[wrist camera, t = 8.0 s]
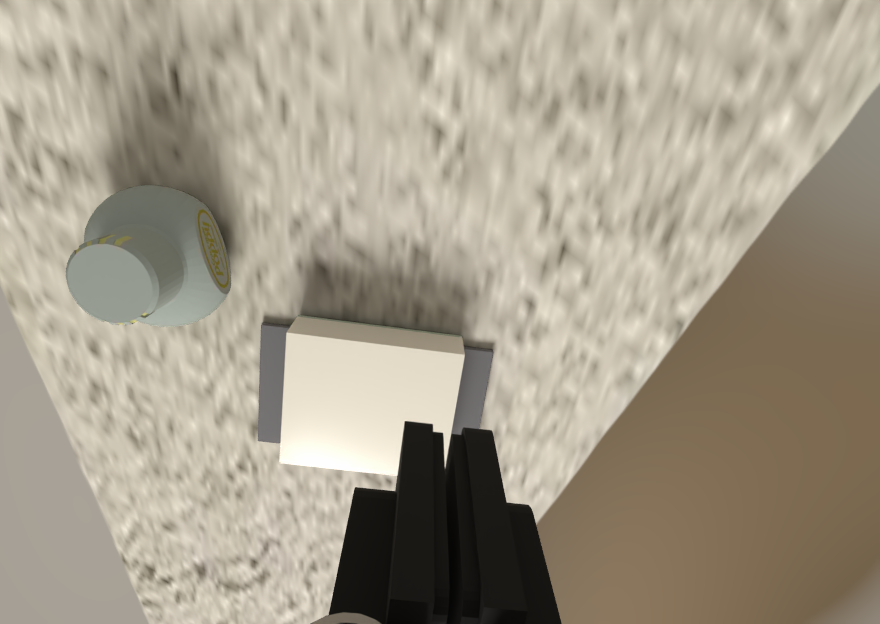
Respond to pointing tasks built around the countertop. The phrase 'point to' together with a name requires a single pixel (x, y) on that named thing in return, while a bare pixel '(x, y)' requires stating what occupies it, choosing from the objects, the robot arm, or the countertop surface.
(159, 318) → the air freshener
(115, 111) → the countertop surface
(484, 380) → the mat
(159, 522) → the countertop surface
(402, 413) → the tile
